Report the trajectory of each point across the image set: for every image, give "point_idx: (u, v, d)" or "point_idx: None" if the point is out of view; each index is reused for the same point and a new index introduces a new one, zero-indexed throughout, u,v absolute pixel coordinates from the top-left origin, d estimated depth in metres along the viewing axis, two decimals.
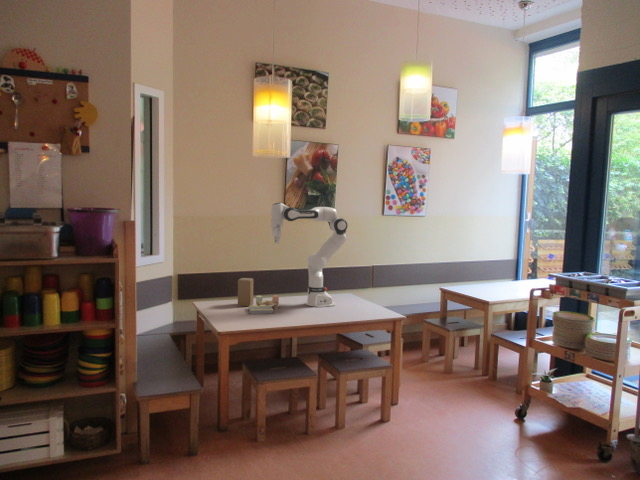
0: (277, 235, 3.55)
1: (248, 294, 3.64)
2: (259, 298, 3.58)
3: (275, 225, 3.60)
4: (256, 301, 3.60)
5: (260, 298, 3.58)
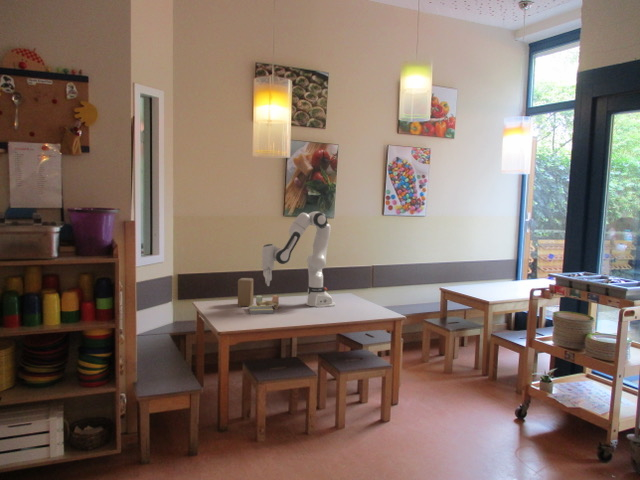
0: (267, 278, 3.50)
1: (248, 294, 3.64)
2: (259, 298, 3.58)
3: (266, 267, 3.55)
4: (256, 301, 3.60)
5: (260, 298, 3.58)
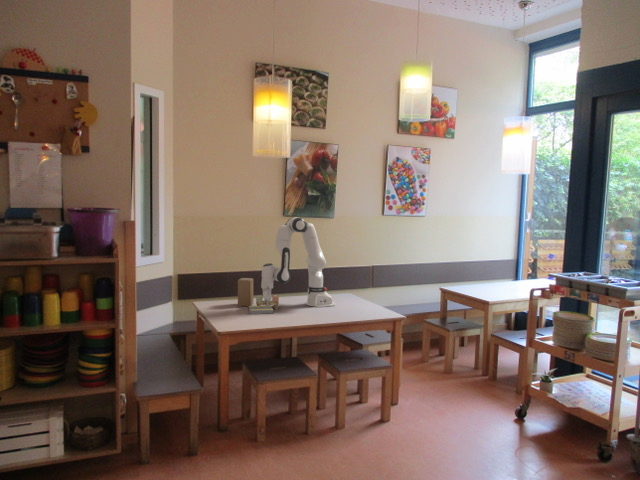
0: (267, 298, 3.51)
1: (248, 294, 3.64)
2: (259, 298, 3.58)
3: (265, 287, 3.56)
4: (256, 301, 3.60)
5: (260, 298, 3.58)
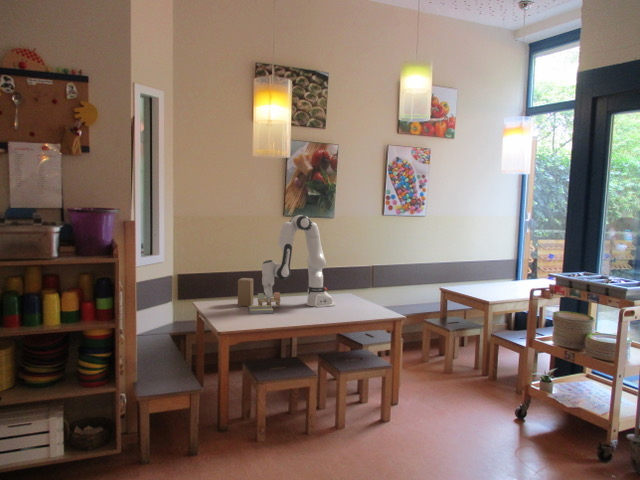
0: (268, 295, 3.51)
1: (248, 294, 3.64)
2: (261, 296, 3.58)
3: (266, 284, 3.56)
4: (258, 298, 3.60)
5: (262, 295, 3.58)
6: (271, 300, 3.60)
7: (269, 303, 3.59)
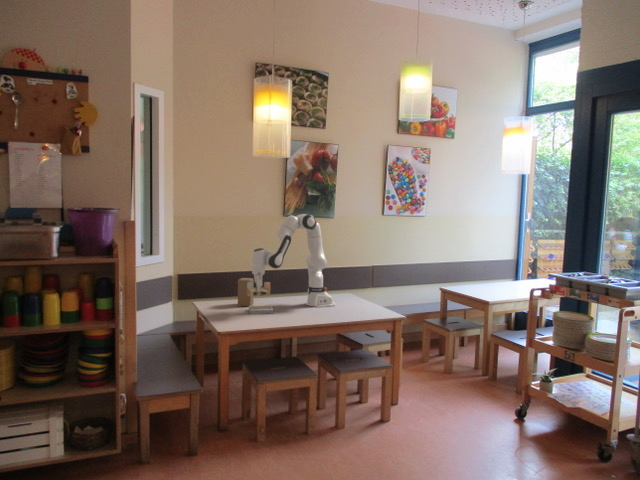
0: (258, 284, 3.38)
1: None
2: (250, 285, 3.45)
3: (256, 272, 3.43)
4: None
5: (251, 284, 3.45)
6: (261, 290, 3.46)
7: (259, 293, 3.46)
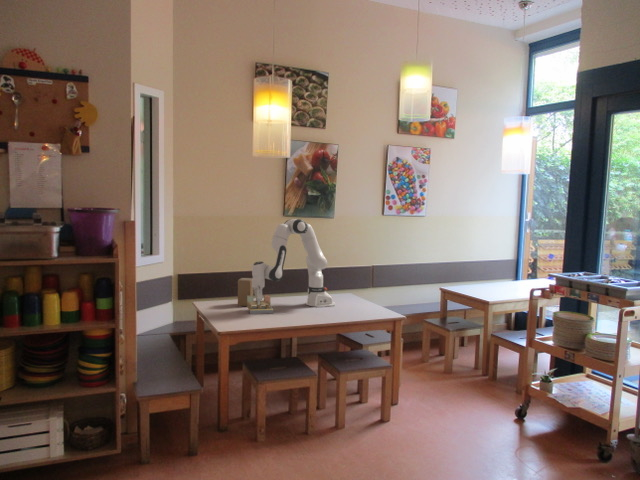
0: (258, 297, 3.39)
1: (248, 294, 3.64)
2: (250, 298, 3.46)
3: (256, 286, 3.44)
4: (247, 301, 3.48)
5: (251, 298, 3.46)
6: (261, 303, 3.47)
7: (259, 306, 3.47)
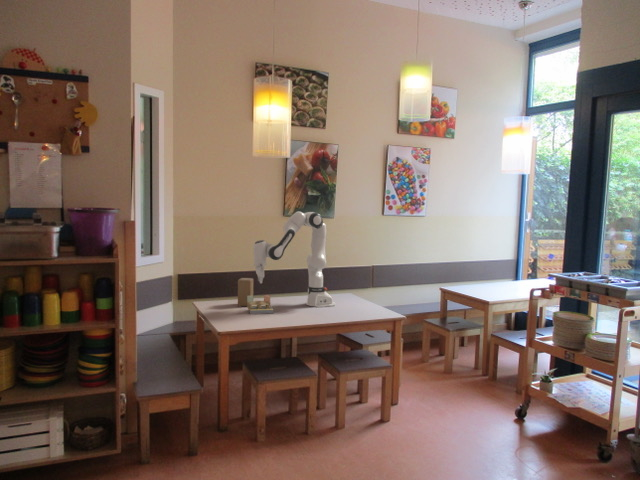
0: (260, 275, 3.43)
1: (248, 294, 3.64)
2: (250, 298, 3.46)
3: (258, 264, 3.48)
4: (247, 301, 3.48)
5: (251, 298, 3.46)
6: (261, 303, 3.47)
7: (259, 306, 3.47)
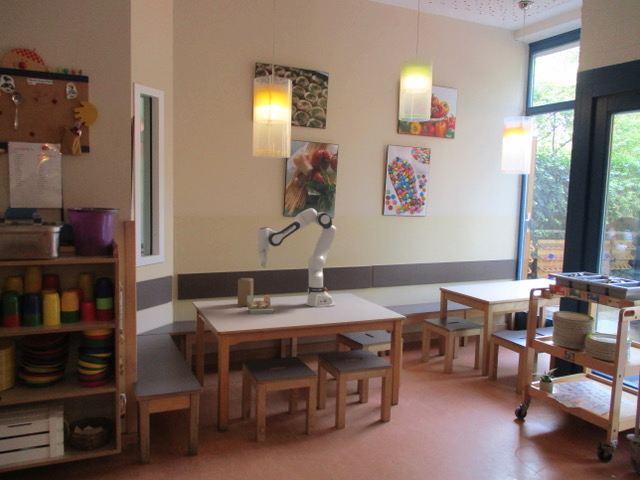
0: (263, 260, 3.59)
1: (248, 294, 3.64)
2: (250, 298, 3.46)
3: (261, 250, 3.64)
4: (247, 301, 3.48)
5: (251, 298, 3.46)
6: (261, 303, 3.47)
7: (259, 306, 3.47)
